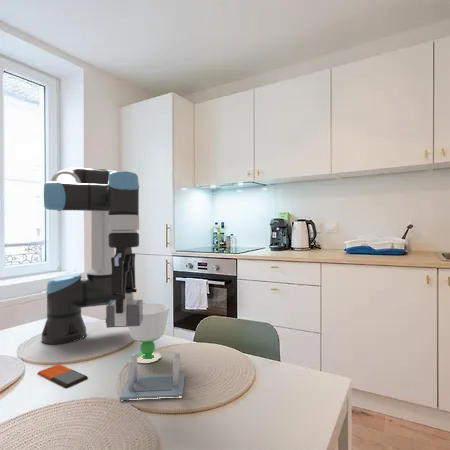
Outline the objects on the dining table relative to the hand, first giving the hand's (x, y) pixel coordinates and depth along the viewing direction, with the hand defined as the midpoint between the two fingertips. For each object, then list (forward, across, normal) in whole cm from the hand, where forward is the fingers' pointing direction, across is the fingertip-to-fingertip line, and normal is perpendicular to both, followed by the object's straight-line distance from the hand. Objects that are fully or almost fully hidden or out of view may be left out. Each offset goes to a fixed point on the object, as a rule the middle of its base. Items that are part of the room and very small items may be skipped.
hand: (124, 321), depth 80 cm
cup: (+18, -19, +2) cm, 26 cm away
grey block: (+1, 0, 0) cm, 1 cm away
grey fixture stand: (+18, -1, +8) cm, 19 cm away
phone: (+18, -9, -20) cm, 28 cm away
